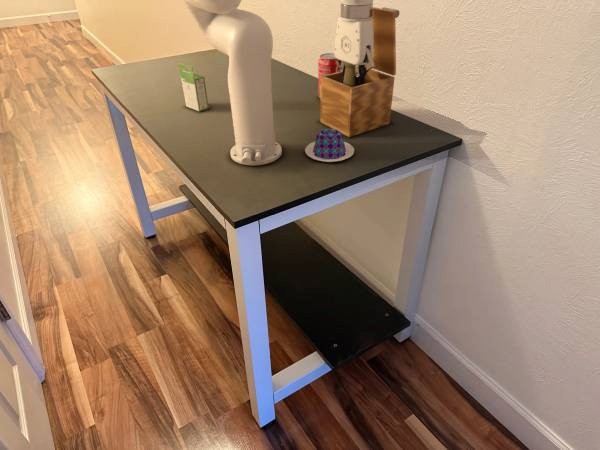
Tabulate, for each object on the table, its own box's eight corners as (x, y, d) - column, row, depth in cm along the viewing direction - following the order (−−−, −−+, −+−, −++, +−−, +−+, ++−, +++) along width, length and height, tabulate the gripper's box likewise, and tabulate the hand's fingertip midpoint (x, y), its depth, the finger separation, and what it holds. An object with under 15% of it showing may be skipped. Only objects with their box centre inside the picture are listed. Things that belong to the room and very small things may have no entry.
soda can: (339, 102, 129) (340, 59, 122) (316, 101, 131) (316, 58, 123) (342, 95, 135) (343, 52, 127) (320, 93, 136) (320, 52, 128)
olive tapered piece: (367, 94, 112) (370, 51, 105) (357, 101, 108) (359, 57, 101) (347, 91, 115) (349, 49, 108) (336, 97, 111) (338, 54, 104)
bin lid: (392, 12, 97) (411, 4, 99) (357, 5, 106) (374, -2, 108) (393, 75, 108) (410, 67, 110) (361, 64, 116) (377, 57, 118)
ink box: (209, 108, 128) (202, 63, 120) (199, 112, 126) (191, 66, 118) (196, 103, 132) (188, 59, 124) (185, 106, 129) (177, 62, 121)
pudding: (351, 141, 107) (352, 122, 104) (356, 163, 97) (357, 143, 94) (304, 142, 107) (304, 123, 104) (305, 165, 98) (305, 144, 94)
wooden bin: (349, 137, 109) (351, 88, 102) (320, 122, 118) (320, 76, 110) (389, 123, 116) (394, 77, 108) (359, 110, 124) (362, 66, 116)
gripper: (322, 9, 103) (321, 83, 114) (368, 19, 92) (362, 100, 103) (345, 5, 106) (343, 78, 117) (393, 14, 95) (385, 94, 106)
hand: (352, 87), depth 110 cm, fingers closed on olive tapered piece, 4 cm apart
